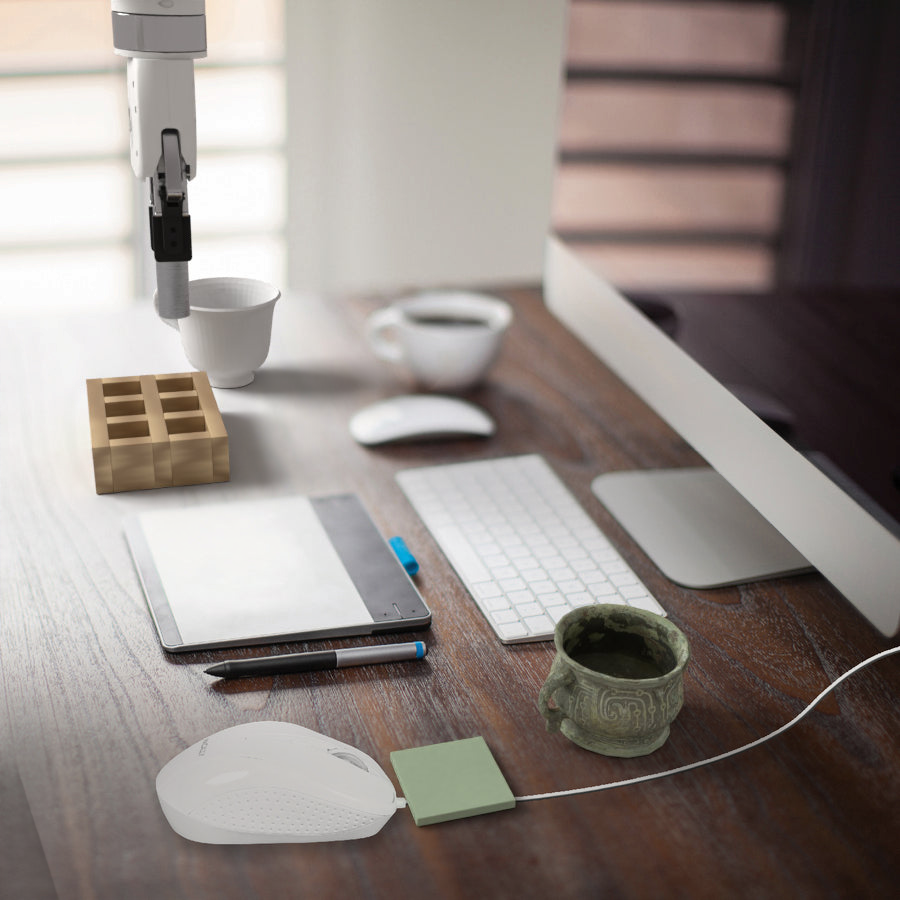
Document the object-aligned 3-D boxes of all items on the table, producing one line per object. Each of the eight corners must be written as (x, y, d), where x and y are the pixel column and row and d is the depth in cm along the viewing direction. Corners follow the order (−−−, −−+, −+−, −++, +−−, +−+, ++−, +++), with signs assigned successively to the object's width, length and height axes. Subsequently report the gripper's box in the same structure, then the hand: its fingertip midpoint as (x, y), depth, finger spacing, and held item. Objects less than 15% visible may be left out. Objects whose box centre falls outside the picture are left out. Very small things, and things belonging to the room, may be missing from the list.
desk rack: (96, 494, 100) (91, 447, 98) (90, 420, 115) (86, 378, 113) (230, 481, 104) (228, 436, 102) (207, 411, 118) (205, 370, 116)
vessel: (642, 661, 81) (652, 585, 78) (727, 733, 74) (741, 652, 71) (498, 707, 75) (504, 627, 73) (575, 790, 68) (584, 704, 66)
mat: (417, 827, 65) (417, 819, 65) (389, 759, 70) (389, 751, 70) (515, 807, 67) (516, 799, 66) (481, 743, 72) (482, 735, 72)
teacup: (188, 350, 135) (183, 268, 130) (301, 370, 130) (300, 285, 126) (128, 383, 124) (120, 295, 120) (248, 406, 120) (245, 315, 116)
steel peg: (160, 320, 102) (153, 196, 97) (157, 310, 104) (150, 190, 100) (192, 318, 103) (186, 196, 98) (188, 309, 105) (183, 189, 101)
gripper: (107, 27, 100) (122, 235, 107) (118, 44, 86) (134, 282, 93) (195, 30, 102) (203, 233, 110) (219, 47, 88) (226, 279, 95)
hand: (171, 253), depth 101 cm, fingers closed on steel peg, 2 cm apart
